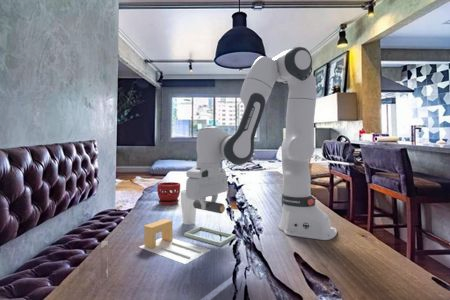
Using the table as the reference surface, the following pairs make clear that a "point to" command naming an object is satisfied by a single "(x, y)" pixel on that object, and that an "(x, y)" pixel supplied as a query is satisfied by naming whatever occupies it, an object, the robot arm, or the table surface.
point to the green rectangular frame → (229, 235)
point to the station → (177, 250)
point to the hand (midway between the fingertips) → (208, 207)
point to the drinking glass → (187, 209)
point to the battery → (210, 206)
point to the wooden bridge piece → (157, 227)
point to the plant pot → (168, 193)
